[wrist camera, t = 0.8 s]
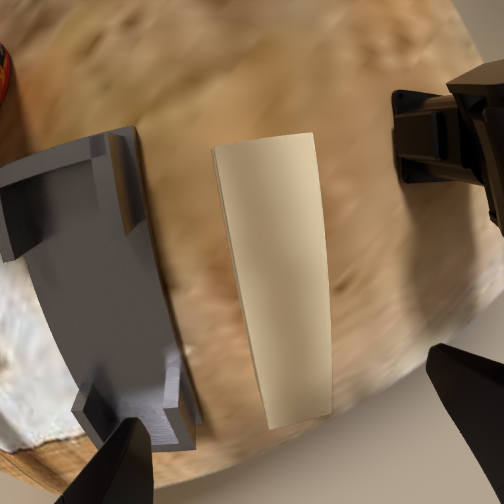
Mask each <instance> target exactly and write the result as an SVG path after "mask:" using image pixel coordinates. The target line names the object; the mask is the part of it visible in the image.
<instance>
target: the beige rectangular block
mask: <svg viewBox="0 0 504 504" xmlns="http://www.w3.org/2000/svg"><path fill="white" fill-rule="evenodd" d="M211 152H212V158H213V164H214V169H215V175H216V180H217V186H218V192H219V197H220V202H221V208H222V213H223V219H224V224H225V229H226V235H227V240H228V245H229V250H230V255H231V261H232V266H233V271H234V276H235V281H236V286H237V291H238V296H239V301H240V306H241V311H242V316H243V321H244V325H245V330H246V335H247V340H248V345H249V349H250V354H251V359H252V363H253V368H254V373H255V377H256V381H257V385H258V388H259V392H260V396H261V400H262V404H263V408H264V411H265V415H266V419H267V423H268V426H269V430H272V429H276V428H280V427H285V426H289V425H292V424H296V423H300V422H304V421H307V420H311V419H314V418H318V417H321V416H324V415H328V414H331V413H332V355H331V321H330V299H329V282H328V267H327V254H326V242H325V230H324V220H323V210H322V201H321V192H320V183H319V175H318V167H317V160H316V152H315V145H314V138H313V132H312V133H302V134H293V135H285V136H277V137H269V138H262V139H255V140H248V141H242V142H236V143H230V144H224V145H218V146H214V147H213V148H212V149H211Z"/></svg>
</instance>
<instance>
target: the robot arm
mask: <svg viewBox="0 0 504 504" xmlns="http://www.w3.org/2000/svg"><path fill="white" fill-rule="evenodd" d="M446 85H447V87H448V89H449V92H450V93H452V94H453V95H447V96H441V95H435V94H429V93H423V92H416V91H408V90H395V91H393V93H392V102H393V110H394V124H395V135H396V147H397V154H398V172H399V179H400V181H401V182H402V183H407V184H410V183H425V182H443V181H460V182H465V183H470V184H474V185H479V186H483V187H484V188H485V192H486V196H487V200H488V205H489V209H490V210H489V216H490V220H491V221H492V222H493V223H494V224H495V225H496V226H498V227H499V229H500V231H501V234H502V236H503V237H504V60H498V61H494V62H490V63H485V64H482V65H480V66H478V67H476V68H474V69H472V70H470V71H468V72H467V73H465V74H463V75H461V76H459V77H457V78H455V79H453V80H451V81H449V82H448V83H446ZM398 94H399V95H400V97H401V99H399V98H398ZM405 174H407V178H406V179H405ZM426 372H427V374H428V376H429V378H430V380H431V382H432V384H433V386H434V388H435V389H436V391H437V393H438V396H439V398H440V400H441V401H442V403H443V405H444V407H445V409H446V410H447V412H448V414H449V415H450V417H451V418H452V420H453V421H454V423H455V425H456V426H457V428H458V429H459V431H460V433H461V434H462V436H463V437H464V439H465V441H466V442H467V444H468V445H469V447H470V449H471V451H472V452H473V454H474V456H475V457H476V459H477V461H478V462H479V464H480V466H481V468H482V469H483V471H484V473H485V475H486V477H487V478H488V480H489V481H490V484H491V486H492V487H493V489H494V491H495V492H496V495H497V497H498V499H499V501H500V503H501V504H504V364H502V363H499V362H496V361H493V360H490V359H487V358H484V357H481V356H478V355H475V354H472V353H469V352H466V351H463V350H460V349H458V348H455V347H452V346H449V345H446V344H443V343H439V344H437V345H434V346H432V347H431V348H430V349H429V353H428V357H427V362H426ZM153 490H154V479H153V465H152V449H151V437H150V434H149V432H148V431H147V429H146V427H145V426H144V424H143V422H142V421H141V419H140V418H138V417H127V418H125V419H124V420H123V421H122V422H121V424H120V425H119V426H118V427H117V428H116V430H115V431H114V432H113V433H112V435H111V436H110V437H109V438H108V439H107V441H106V442H105V443H104V444H103V445H102V447H101V448H100V449H99V450H98V451H97V453H96V454H95V455H94V456H93V458H92V459H91V460H90V461H89V462H88V464H87V465H86V466H85V467H84V468H83V470H82V471H81V472H80V473H79V474H78V476H77V477H76V478H75V479H74V480H73V482H72V483H71V484H70V485H69V486H68V488H67V489H66V490H65V491H64V492H63V495H61V496H60V497H59V498H58V500H57V501H56V502H55V503H54V504H153Z"/></svg>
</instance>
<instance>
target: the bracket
mask: <svg viewBox="0 0 504 504" xmlns="http://www.w3.org/2000/svg"><path fill="white" fill-rule="evenodd" d="M0 253H1V256H2V260H3V263H4V262H8V261H13V260H16V259H17V258H19V257H20V256H22V255H23V254H24V257H25V261H26V264H27V267H28V271H29V274H30V277H31V280H32V283H33V286H34V289H35V292H36V294H37V297H38V300H39V303H40V305H41V308H42V311H43V313H44V316H45V318H46V321H47V323H48V326H49V328H50V330H51V333H52V335H53V337H54V340H55V342H56V344H57V346H58V348H59V351H60V353H61V355H62V357H63V359H64V361H65V363H66V365H67V367H68V369H69V371H70V373H71V375H72V377H73V379H74V381H75V383H76V384H77V386H78V388H79V391H78V394H77V396H76V399H75V401H74V404H73V406H72V409H71V412H72V413H73V415H74V416H75V418H76V419H77V421H78V422H79V424H80V425H81V427H82V428H83V430H84V431H85V433H86V434H87V435H88V437H89V438H90V440H91V441H92V442H93V444H94V445H95V446H96V448H97V449H98V450H99V449H100V448H101V447H102V445H103V444H104V443H105V442H106V441H107V439H108V438H109V437H110V436H111V435H112V433H113V432H114V431H115V430H116V428H117V427H118V426H119V425H120V424H121V422H122V421H123V420H124V419H125V418H127V417H138V418H140V419H141V421H142V422H143V424H144V426H145V427H146V429H147V431H148V432H149V434H150V437H151V449H152V452H174V451H188V450H196V428H195V425H202V424H203V419H202V413H201V411H200V408H199V405H198V402H197V399H196V396H195V393H194V390H193V387H192V384H191V380H190V377H189V374H188V371H187V368H186V364H185V361H184V358H183V354H182V351H181V348H180V344H179V341H178V337H177V334H176V330H175V326H174V323H173V319H172V315H171V311H170V308H169V304H168V300H167V296H166V292H165V288H164V283H163V279H162V275H161V271H160V266H159V262H158V257H157V253H156V248H155V243H154V238H153V233H152V228H151V223H150V218H149V213H148V207H147V201H146V196H145V190H144V184H143V177H142V171H141V164H140V157H139V150H138V143H137V135H136V127H134V126H127V127H123V128H119V129H115V130H111V131H107V132H103V133H99V134H95V135H92V136H88V137H85V138H81V139H78V140H74V141H71V142H68V143H65V144H62V145H58V146H55V147H52V148H49V149H46V150H44V151H41V152H38V153H35V154H32V155H30V156H27V157H24V158H22V159H19V160H16V161H14V162H11V163H9V164H6V166H5V167H2V168H0Z"/></svg>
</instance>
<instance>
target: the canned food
mask: <svg viewBox="0 0 504 504" xmlns="http://www.w3.org/2000/svg"><path fill="white" fill-rule="evenodd" d="M9 76H10V60H9V55H8V53H7V50H6V49H5V47H4V46H3V44H2V43H1V42H0V105H1V103H2V101H3V98H4V96H5V93H6V90H7V86H8V82H9Z"/></svg>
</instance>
